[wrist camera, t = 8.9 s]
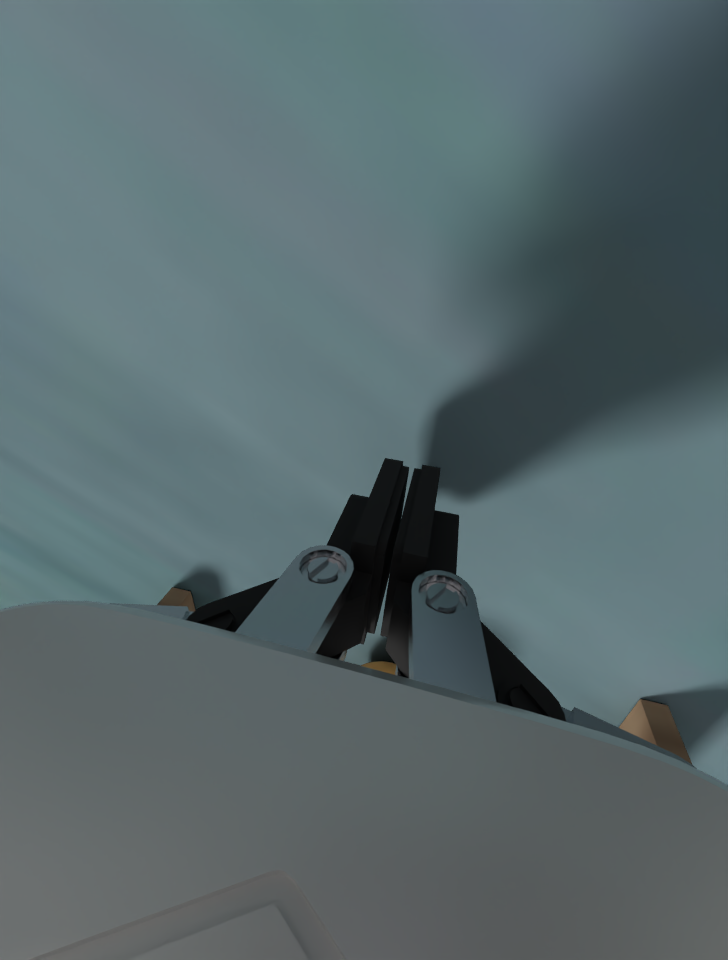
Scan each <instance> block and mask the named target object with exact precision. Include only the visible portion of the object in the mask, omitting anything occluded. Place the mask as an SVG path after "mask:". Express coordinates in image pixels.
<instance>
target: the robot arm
mask: <svg viewBox="0 0 728 960" xmlns="http://www.w3.org/2000/svg"><path fill="white" fill-rule="evenodd" d="M408 472H409V467H405V466H403V461H399V460H393V459H387V458H385V460H384V462H383V465H382V467H381V469H380V472H379V474H378V477H377V479H376V482H375V484H374V487H373V489H372V492H371V494H370V497H364V496H359V495H354V494H352V495H351V496H350V498H349V500H348V502H347V504H346V506H345V508H344V510H343V512H342V514H341V516H340V518H339V521H338V523H337V525H336V527H335V529H334V531H333V533H332V535H331V537H330V539H329V541H328V543H327V545H324V546H314V547H310V548H308V549H306V550H304V551H302V552H301V553H300V554H299V555H298V556H297V557H296V558H295V559H294V560H293V561H292V563H291V564H290V565H289V566H288V568H287V569H286V570H285V571H284V573H283V574H282V575H281V576H280V578H278V579H275V580H272V581H269V582H266V583H264V584H261V585H258V586H255V587H253V588H250V589H247V590H244V591H242V592H239V593H236V594H233V595H231V596H228V597H225V598H222V599H220V600H217V601H214V602H211V603H209V604H206V605H204V606H202V607H200V608H198V609H197V610H196V611H194V612H193V611H189V609H188V607H187V606H162V605H138V604H113V603H110V604H108V603H99V602H91V601H49V602H37V603H29V604H23V605H18V606H13V607H9V608H5V609H2V610H0V960H728V785H726V784H724V783H723V782H721V781H719V780H718V779H716V778H714V777H712V776H710V775H708V774H706V773H704V772H702V771H700V770H698V769H696V768H695V767H694V766H693V765H692V764H691V763H689V762H687V761H686V760H684V759H683V758H681V757H679V756H678V755H676V754H674V753H672V752H670V751H667V750H665V749H663V748H661V747H659V746H657V745H655V744H652V743H650V742H648V741H646V740H644V739H642V738H640V737H637V736H635V735H633V734H631V733H629V732H627V731H625V730H623V729H620V728H618V727H616V726H614V725H612V724H610V723H608V722H605V721H603V720H601V719H599V718H597V717H595V716H593V715H590V714H588V713H586V712H584V711H582V710H580V709H578V708H575V707H574V708H573V710H572V711H569V710H567V709H565V708H563V707H561V706H560V704H559V702H558V701H557V699H556V698H555V697H554V696H553V694H552V693H551V692H550V691H549V690H548V689H547V688H546V687H545V686H544V685H543V684H542V683H541V682H540V681H539V680H538V679H537V678H536V677H535V676H534V675H533V674H532V673H531V672H530V671H529V670H528V669H527V668H526V667H525V666H524V665H523V664H522V662H521V661H520V660H519V659H518V658H517V657H516V656H515V655H514V654H513V653H512V652H511V651H510V650H509V649H508V648H507V647H506V646H505V645H504V644H503V643H502V642H501V641H500V640H499V639H498V638H497V637H496V636H495V635H494V634H493V633H492V632H491V631H490V630H489V629H488V628H487V627H486V626H485V625H484V624H483V623H482V622H481V621H480V617H479V612H478V607H477V602H476V597H475V594H474V592H473V589H472V588H471V587H470V586H469V584H468V583H467V582H466V581H465V580H463V579H462V578H461V577H459V576H457V575H456V567H457V548H458V529H459V515H456V514H451V513H446V512H441V511H435V503H436V496H437V489H438V482H439V475H440V468H438V467H432V466H426V465H422V469H416V468H415V469H414V472H413V476H412V480H411V484H410V488H409V492H408V496H407V499H406V503H405V507H404V511H403V515H402V510H403V504H404V498H405V491H406V485H407V478H408ZM401 517H402V519H401ZM389 574H390V576H389ZM388 578H389V582H388ZM387 582H388V589H387V595H386V602H385V609H384V615H383V622H382V628H381V636H385V637H387V643H386V649H385V650H386V651H387V652H388V654H389V655H390V657H391V658H392V659H393V661H394V662H395V664H396V665H397V666H396V671H395V675H393V674H390V673H386V672H382V671H378V670H375V669H371V668H367V667H363V666H360V665H356V664H352V663H348V662H345V661H344V660H345V657H346V653H347V650H348V649H350V648H352V647H354V646H356V645H358V644H364V641H365V638H366V634H367V632H369V633H373V634H374V633H375V630H376V626H377V622H378V618H379V614H380V610H381V606H382V602H383V598H384V594H385V590H386V586H387Z"/></svg>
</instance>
